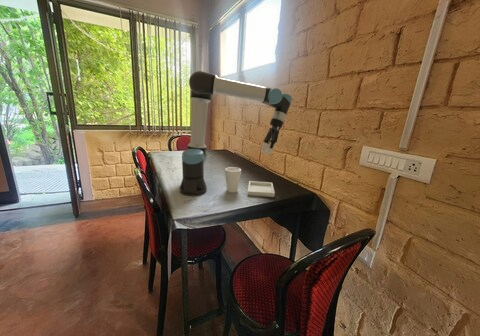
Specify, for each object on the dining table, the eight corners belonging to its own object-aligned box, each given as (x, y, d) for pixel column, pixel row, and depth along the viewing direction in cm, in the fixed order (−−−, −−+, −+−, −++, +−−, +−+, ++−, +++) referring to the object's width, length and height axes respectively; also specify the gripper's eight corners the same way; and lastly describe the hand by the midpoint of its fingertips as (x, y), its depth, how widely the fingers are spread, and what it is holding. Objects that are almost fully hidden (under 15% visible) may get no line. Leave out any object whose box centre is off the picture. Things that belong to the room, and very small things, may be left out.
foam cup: (238, 194, 115) (239, 172, 112) (222, 192, 117) (223, 170, 113) (241, 188, 124) (242, 168, 121) (226, 186, 126) (227, 166, 122)
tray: (247, 195, 114) (247, 191, 113) (248, 184, 131) (249, 181, 131) (274, 197, 113) (274, 193, 112) (272, 186, 130) (272, 182, 130)
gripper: (291, 120, 110) (277, 156, 111) (276, 124, 134) (265, 154, 136) (278, 114, 109) (264, 151, 110) (266, 120, 133) (255, 150, 135)
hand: (265, 153), depth 123 cm, fingers open, 13 cm apart
